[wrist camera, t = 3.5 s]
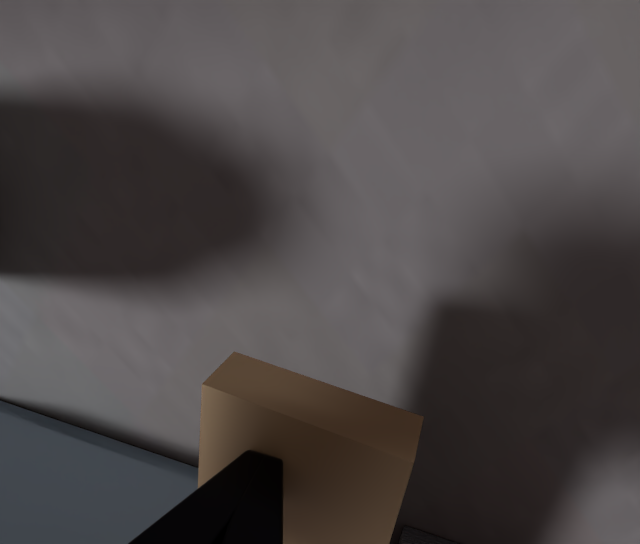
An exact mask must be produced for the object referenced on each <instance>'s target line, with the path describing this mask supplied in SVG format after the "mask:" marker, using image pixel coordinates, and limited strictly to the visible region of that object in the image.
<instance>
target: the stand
mask: <svg viewBox="0 0 640 544" xmlns="http://www.w3.org/2000/svg"><path fill="white" fill-rule="evenodd" d="M398 544H458V543H455V542H452V541H449V540H446V539H443V538H440V537H437V536H434V535H431V534H428V533H425V532H422V531H419V530H416V529H413V528H410V527H407V526H404V527H403V530H402V533H401V536H400V539H399V543H398Z"/></svg>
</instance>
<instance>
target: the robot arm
mask: <svg viewBox="0 0 640 544" xmlns="http://www.w3.org/2000/svg"><path fill="white" fill-rule="evenodd" d="M128 544H283V460H282V459H280V458H277V457H274V456H270V455H266V454H264V453H260V452H257V451H254V450H247V451H245V452H244V453H242V454H241V455H240V456H238V457H237V458H236V459H235V460H233V461H232V462H231V463H230V464H228V465H227V466H226V467H224V468H223V469H222V470H221V471H219V472H218V473H217V474H216V475H214V476H213V477H212V478H210V479H209V480H208V481H207V482H205V483H204V484H203V485H202V486H200V487H199V488H198V489H197V490H195V491H194V492H193V493H191V494H190V495H189V496H188V497H186V498H185V499H184V500H183V501H181V502H180V503H179V504H177V505H176V506H175V507H174V508H172V509H171V510H170V511H169V512H167V513H166V514H165V515H163V516H162V517H161V518H160V519H158V520H157V521H156V522H155V523H153V524H152V525H151V526H149V527H148V528H147V529H146V530H144V531H143V532H142V533H141V534H139V535H138V536H137V537H135V538H134V539H133V540H132V541H130V542H129V543H128Z"/></svg>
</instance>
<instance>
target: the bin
mask: <svg viewBox="0 0 640 544" xmlns="http://www.w3.org/2000/svg"><path fill="white" fill-rule="evenodd" d="M198 469H199V468H196V467H193V466H190V465H187V464H184V463H181V462H178V461H175V460H173V459H170V458H167V457H164V456H161V455H158V454H155V453H152V452H149V451H146V450H143V449H140V448H137V447H135V446H132V445H129V444H126V443H123V442H120V441H117V440H114V439H111V438H108V437H105V436H102V435H99V434H96V433H94V432H91V431H88V430H85V429H82V428H79V427H76V426H73V425H70V424H67V423H64V422H61V421H58V420H55V419H53V418H50V417H47V416H44V415H41V414H38V413H35V412H32V411H29V410H26V409H23V408H20V407H17V406H15V405H12V404H9V403H6V402H3V401H0V544H128V543H129V542H130V541H132V540H133V539H134V538H135V537H137V536H138V535H139V534H141V533H142V532H143V531H144V530H146V529H147V528H148V527H149V526H151V525H152V524H153V523H155V522H156V521H157V520H158V519H160V518H161V517H162V516H163V515H165V514H166V513H167V512H169V511H170V510H171V509H172V508H174V507H175V506H176V505H177V504H179V503H180V502H181V501H183V500H184V499H185V498H186V497H188V496H189V495H190V494H191V493H193V492H194V491H195V490H197V489H198Z"/></svg>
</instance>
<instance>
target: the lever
mask: <svg viewBox="0 0 640 544" xmlns="http://www.w3.org/2000/svg"><path fill="white" fill-rule="evenodd" d="M423 419H424V417H423V416H420V415H417V414H414V413H411V412H408V411H406V410H403V409H400V408H397V407H394V406H391V405H388V404H385V403H382V402H379V401H376V400H374V399H371V398H368V397H365V396H362V395H359V394H356V393H353V392H350V391H347V390H344V389H342V388H339V387H336V386H333V385H330V384H327V383H324V382H321V381H318V380H315V379H312V378H310V377H307V376H304V375H301V374H298V373H295V372H292V371H289V370H286V369H283V368H280V367H278V366H275V365H272V364H269V363H266V362H263V361H260V360H257V359H254V358H251V357H248V356H246V355H243V354H240V353H237V352H233V353H232V354H231V355H230V357H229V358H228V359H227V360H226V361H225V362H224V363H223V364H222V365H221V366H220V367H219V368H218V369H217V370H216V371H215V372H214V373H213V374H212V375H211V376H210V377H209V378H208V379H207V380H206V381H205V382H204V383H203V384H202V398H201V422H200V445H199V469H198V488H199V487H200V486H202V485H203V484H204V483H205V482H207V481H208V480H209V479H210V478H212V477H213V476H214V475H216V474H217V473H218V472H219V471H221V470H222V469H223V468H224V467H226V466H227V465H228V464H230V463H231V462H232V461H233V460H235V459H236V458H237V457H238V456H240V455H241V454H242V453H244V452H245V451H247V450H254V451H257V452H260V453H264V454H266V455H270V456H274V457H277V458H280V459H282V460H283V544H389V542H390V539H391V536H392V533H393V529H394V526H395V523H396V520H397V517H398V513H399V510H400V507H401V504H402V500H403V497H404V494H405V491H406V487H407V484H408V481H409V478H410V474H411V471H412V468H413V465H414V461H415V456H416V451H417V447H418V442H419V437H420V433H421V428H422V423H423Z"/></svg>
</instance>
